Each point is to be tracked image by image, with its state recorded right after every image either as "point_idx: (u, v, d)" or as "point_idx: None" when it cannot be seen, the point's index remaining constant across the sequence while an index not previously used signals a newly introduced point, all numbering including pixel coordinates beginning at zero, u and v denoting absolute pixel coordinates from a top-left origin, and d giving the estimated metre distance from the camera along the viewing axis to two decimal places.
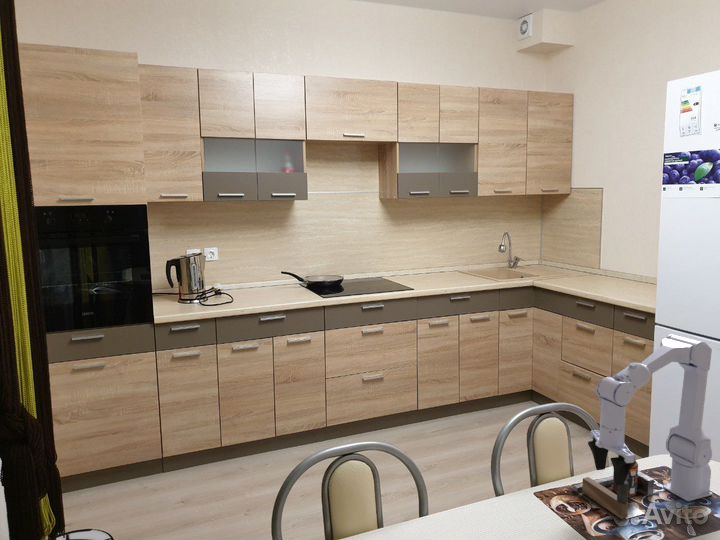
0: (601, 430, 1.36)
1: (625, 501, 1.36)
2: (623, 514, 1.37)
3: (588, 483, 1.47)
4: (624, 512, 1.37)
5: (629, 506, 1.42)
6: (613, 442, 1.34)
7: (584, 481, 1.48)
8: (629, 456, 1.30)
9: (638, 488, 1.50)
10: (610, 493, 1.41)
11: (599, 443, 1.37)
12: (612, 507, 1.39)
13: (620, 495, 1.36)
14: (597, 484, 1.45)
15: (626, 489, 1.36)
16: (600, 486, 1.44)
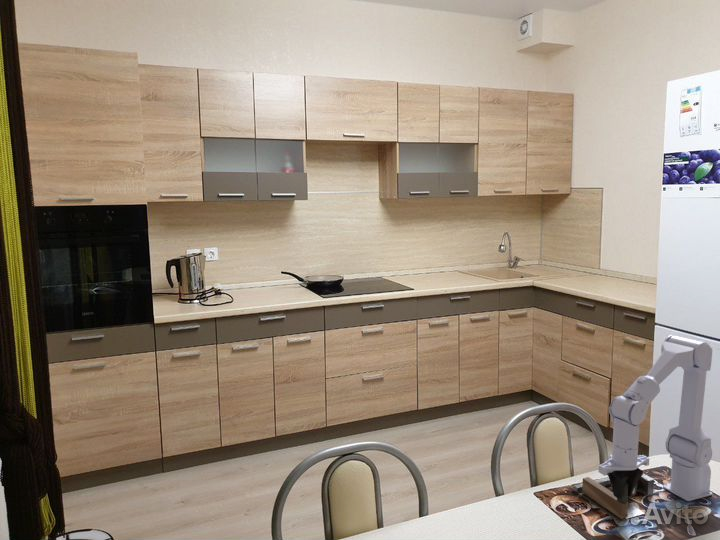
0: None
1: (625, 501, 1.36)
2: (623, 514, 1.37)
3: (588, 483, 1.47)
4: (624, 512, 1.37)
5: (629, 506, 1.42)
6: (612, 455, 1.36)
7: (584, 481, 1.48)
8: (600, 466, 1.34)
9: (638, 488, 1.50)
10: (610, 493, 1.41)
11: None
12: (612, 507, 1.39)
13: None
14: (597, 484, 1.45)
15: (626, 489, 1.36)
16: (600, 486, 1.44)
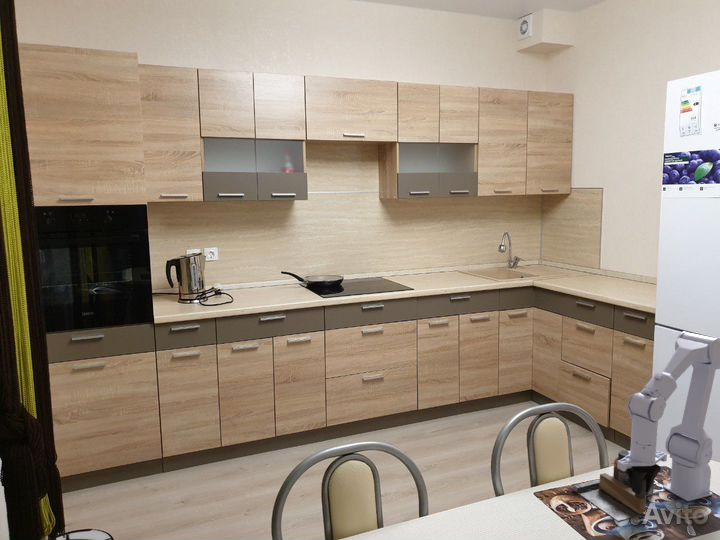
0: None
1: (643, 496, 1.38)
2: (641, 509, 1.39)
3: (605, 479, 1.49)
4: (642, 507, 1.39)
5: None
6: (631, 451, 1.38)
7: (601, 477, 1.50)
8: (619, 462, 1.36)
9: None
10: (628, 489, 1.43)
11: None
12: (630, 502, 1.41)
13: None
14: (614, 480, 1.47)
15: (644, 484, 1.38)
16: (618, 481, 1.46)
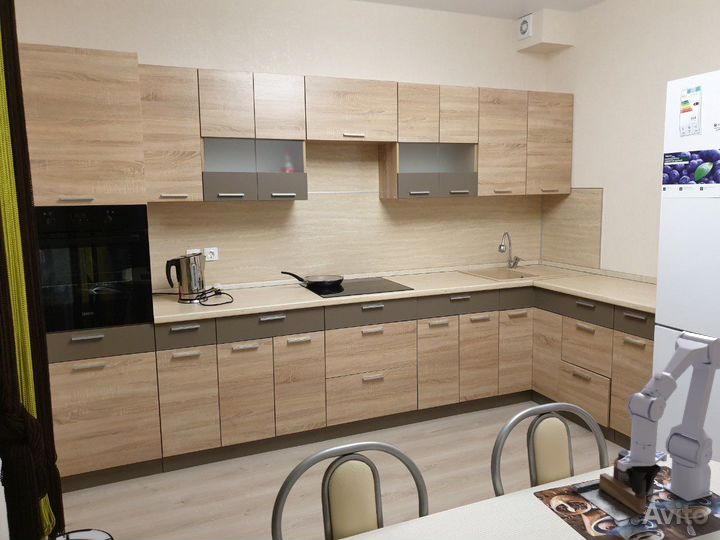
0: None
1: (643, 496, 1.38)
2: (641, 509, 1.39)
3: (605, 479, 1.49)
4: (642, 507, 1.39)
5: None
6: (631, 451, 1.38)
7: (601, 477, 1.50)
8: (619, 462, 1.36)
9: None
10: (628, 489, 1.43)
11: None
12: (630, 502, 1.41)
13: None
14: (614, 480, 1.47)
15: (644, 484, 1.38)
16: (618, 481, 1.46)
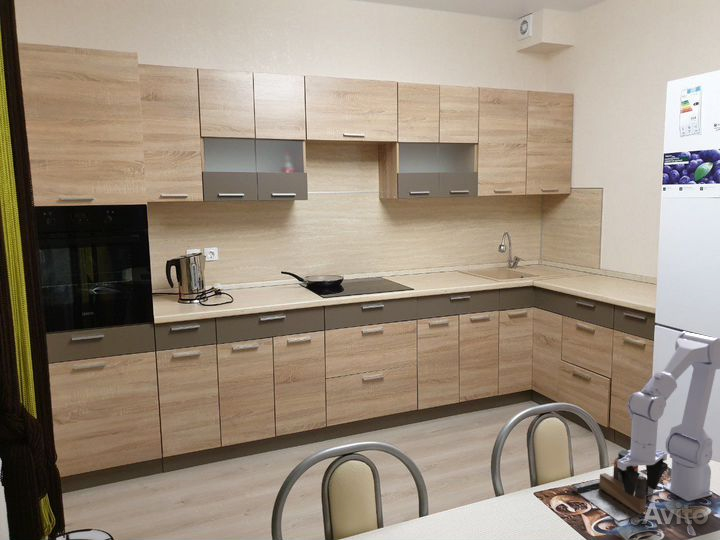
0: None
1: (643, 496, 1.38)
2: (641, 509, 1.39)
3: (605, 479, 1.49)
4: (642, 507, 1.39)
5: None
6: (631, 451, 1.38)
7: (601, 477, 1.50)
8: (619, 461, 1.36)
9: None
10: None
11: None
12: (630, 502, 1.41)
13: (638, 490, 1.38)
14: (614, 480, 1.47)
15: (644, 484, 1.38)
16: (618, 481, 1.46)
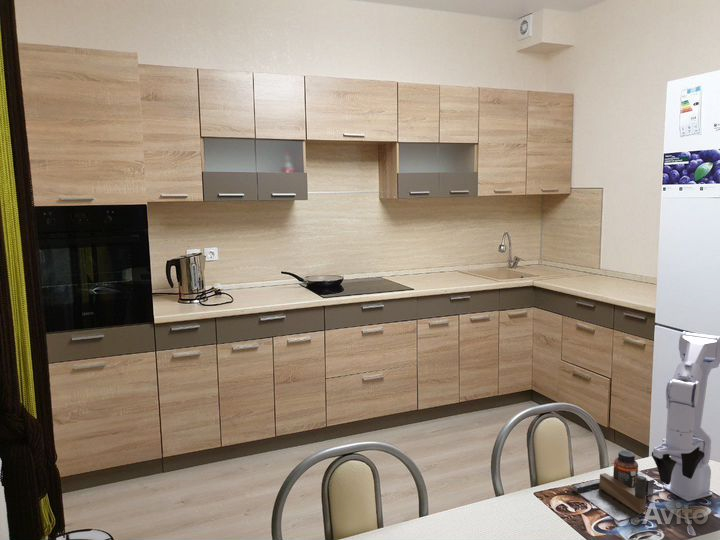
0: None
1: (643, 496, 1.38)
2: (641, 509, 1.39)
3: (605, 479, 1.49)
4: (642, 507, 1.39)
5: None
6: (666, 439, 1.35)
7: (601, 477, 1.50)
8: (655, 450, 1.33)
9: None
10: (628, 489, 1.43)
11: None
12: (630, 502, 1.41)
13: (638, 490, 1.38)
14: (614, 480, 1.47)
15: (644, 484, 1.38)
16: (618, 481, 1.46)
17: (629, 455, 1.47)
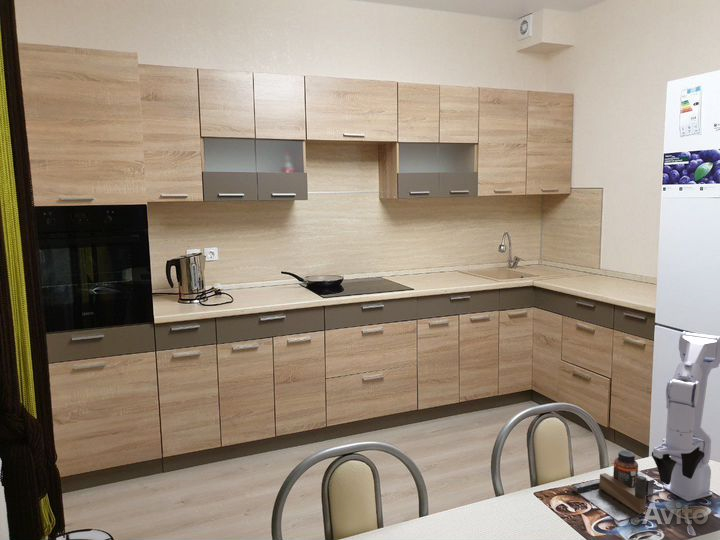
0: None
1: (643, 496, 1.38)
2: (641, 509, 1.39)
3: (605, 479, 1.49)
4: (642, 507, 1.39)
5: None
6: (666, 439, 1.35)
7: (601, 477, 1.50)
8: (655, 450, 1.33)
9: None
10: (628, 489, 1.43)
11: None
12: (630, 502, 1.41)
13: (638, 490, 1.38)
14: (614, 480, 1.47)
15: (644, 484, 1.38)
16: (618, 481, 1.46)
17: (629, 455, 1.47)
